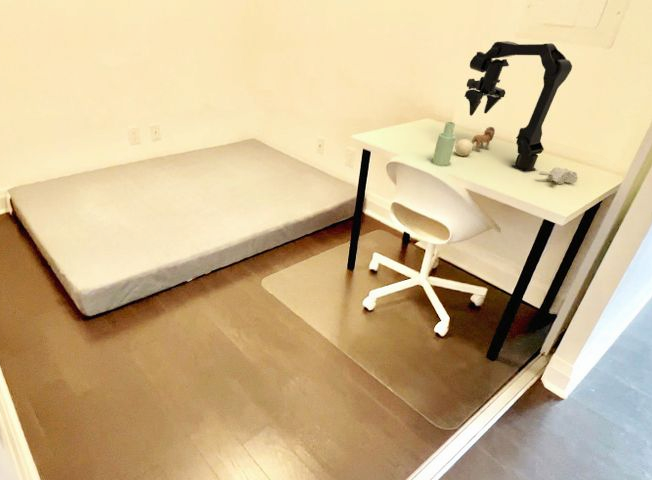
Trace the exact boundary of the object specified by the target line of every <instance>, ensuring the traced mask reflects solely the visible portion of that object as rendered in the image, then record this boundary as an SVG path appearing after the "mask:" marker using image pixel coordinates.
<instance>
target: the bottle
mask: <svg viewBox="0 0 652 480" xmlns="http://www.w3.org/2000/svg"><path fill="white" fill-rule="evenodd" d="M455 126H456V123H455V122H453V121H446V122H445V124H444V127H443V128H444V129H443V133H439V134H438V136H437V140H436V143H435V148H434V153H433V157H432V164H434V165H436V166H441V167H443V166H444V167H445V166H446V167H447V166H448V165H450V161H451V157H452V154H453V149H454V148H455V142H456V139H457V136H456V135H455V134H453V133H454V129H455Z"/></svg>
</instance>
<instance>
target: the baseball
mask: <svg viewBox="0 0 652 480" xmlns="http://www.w3.org/2000/svg"><path fill="white" fill-rule="evenodd" d="M454 149H455V153H456V154H457V155H458V156H460V157H461V156H462V157H465V156H469V155H470V154H471V153H472V151H473V150H474V144H472V140H469V139H467V138H464V139H460V140H458V141H457V142H456V144H455V145H454Z"/></svg>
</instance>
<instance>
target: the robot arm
mask: <svg viewBox="0 0 652 480" xmlns="http://www.w3.org/2000/svg"><path fill="white" fill-rule="evenodd" d="M513 56H539V57H540V60H541V61H540V62H541V65H542V67H543V69H544V73H543V76H542V79H543V87H542V90H541V91H540V94H539V97H538V99H537V101H536V104H535V107H534V109H533V111H532V114H531V116H530V118H529V121H528V124H527V125H526V126H525V127H520V129H519V130H518V134H517V136H516V137H515V139H516V141H515V142H516V146H517V156H516V159H515V162H514V164H511V167H512V168H515V169H517V170H519V171H521V172H525V173H527V172H531V171H536V168H535V166H536V164H537V160H538V158H539V154H542V153H543V151H544V150H545V148H544V146H543V144H542V142H541V141H542V136H543V127H542V126H543V125H544V121H545V120H546V118H547V115H548V113H549V110H550V108H551V106H552V103H553V101H554V99H555V97H556V96H555V95H556V94H557V92H558V90H559V88H560V86H561V85H562V84H563V83H565V81H566V79H567V78H568V76H569V75H570V73H571V72H572V70H573V64H572V62H571V60H569V59H567V58H566V56H565V55H564V54H563V53H562V52H561V51H560V50H559V49H558V48H557V47H556V45H555V44H554V43H552V42H549V43H540V44H539V43H526V44H525V43H522V44H521V43H516V42H514V41H509V40H505V41H495V42H494V43H493V44H492V46H491V47H490V48H489V50H488V51H486V52H485V53H484V52H482V51H477V52H476V54H475V55H474V56H472V58H471V60H470V61H469V62H470V63H469V68H470V69H471V70H473V71H477V72H480V73H484V75H483V76H481V77H480V78H479V80H475V78H468V80H467V82H466V87H467V88H468V90H466V91H465V93H464V98H466V100H468V103H469V116H471V117H473V115H474V114H475V112H476V111H477V109H478V107H479V106H480V104H481V103H482V99H483V98H484V97H486V103H485V106H484V111H483V113H484V114H488V112H490V111H491V110H492V108H493V107H494V106H495V105H496V104H497V103H498V102H499V101H500V100H502V98H505V95H506V90H505V89H503V88H501V87H498V86H497V85H498V84H499V83H500V82H501V79H500V76H501V74H502V70H503V68H505V67H509V66H510V64H509V62H508V59H507V58H509V57H513ZM502 58H503V59H502ZM493 59H494V60H493ZM501 59H502V60H501Z"/></svg>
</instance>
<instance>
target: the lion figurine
mask: <svg viewBox="0 0 652 480" xmlns="http://www.w3.org/2000/svg"><path fill="white" fill-rule="evenodd" d="M495 132H496V131H495V128H494V127H493V126H488V127H486V128H485V130H484V134H475V135H474V136H473V138H472V140H471V142H472V144H473V145H474V144H476V146H475V150H476V151H477V152H480V151H481V150H480V149H481V148H482V149H483V147H484V149H485V150H488V149H489V145H490V143H491V141H493V139H494V135H495ZM485 143H486V145H485V146H483V145H484V144H485ZM479 148H480V149H479Z"/></svg>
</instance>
